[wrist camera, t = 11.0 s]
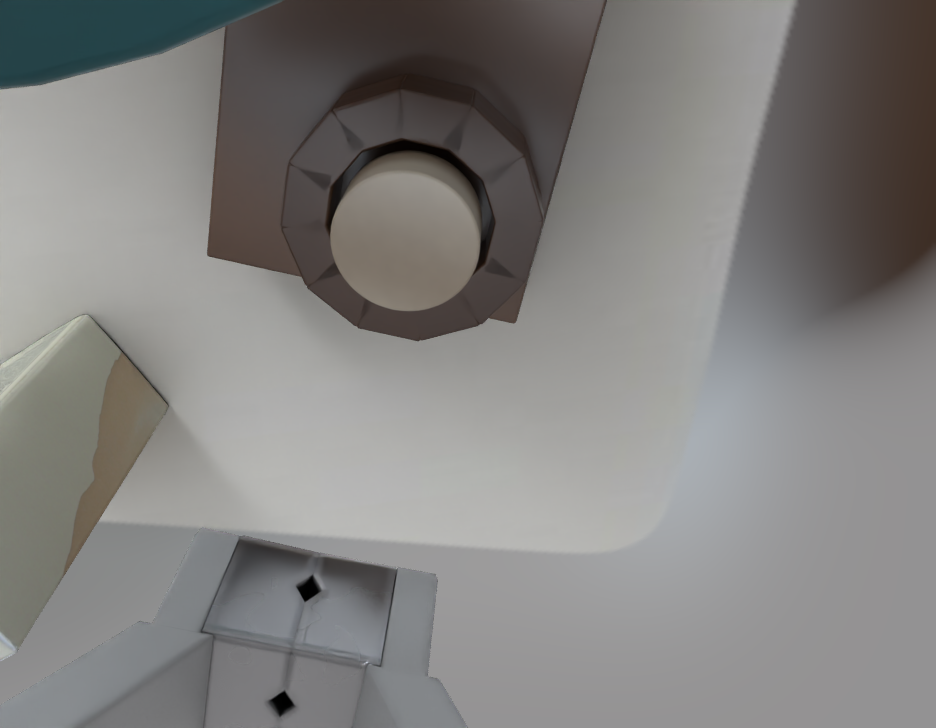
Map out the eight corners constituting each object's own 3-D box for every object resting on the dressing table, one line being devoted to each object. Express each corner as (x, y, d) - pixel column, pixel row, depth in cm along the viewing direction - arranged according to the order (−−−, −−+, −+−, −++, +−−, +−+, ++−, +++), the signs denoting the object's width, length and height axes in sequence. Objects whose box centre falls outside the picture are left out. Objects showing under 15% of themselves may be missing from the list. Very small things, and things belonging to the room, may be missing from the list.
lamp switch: (353, 134, 21) (341, 154, 20) (496, 168, 22) (495, 190, 20) (332, 267, 23) (320, 294, 22) (465, 296, 23) (462, 326, 22)
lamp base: (270, -237, 21) (222, -258, 17) (635, -141, 21) (659, -144, 18) (227, 236, 27) (185, 291, 23) (513, 300, 27) (513, 362, 24)
